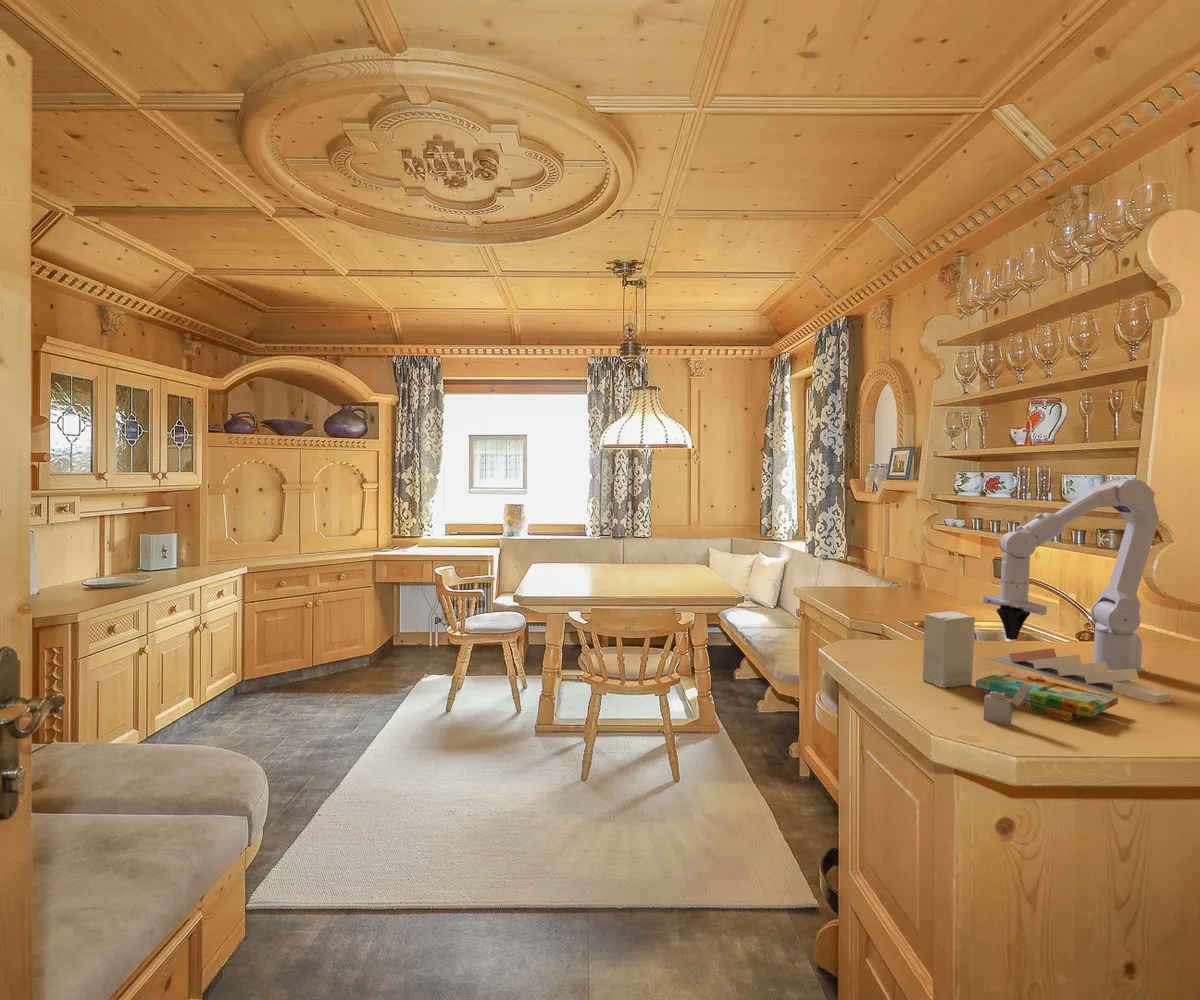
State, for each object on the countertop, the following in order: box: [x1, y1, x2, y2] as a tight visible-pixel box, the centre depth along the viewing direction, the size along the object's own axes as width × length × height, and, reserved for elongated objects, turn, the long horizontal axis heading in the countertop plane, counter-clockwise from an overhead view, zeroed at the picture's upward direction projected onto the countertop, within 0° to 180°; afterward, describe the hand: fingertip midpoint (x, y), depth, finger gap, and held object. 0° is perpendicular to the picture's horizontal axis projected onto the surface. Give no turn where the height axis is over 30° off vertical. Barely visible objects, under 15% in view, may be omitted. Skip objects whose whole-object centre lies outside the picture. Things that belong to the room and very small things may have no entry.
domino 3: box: [1057, 662, 1109, 676], centre depth 149 cm, size 4×2×8 cm
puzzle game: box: [975, 670, 1119, 721], centre depth 132 cm, size 12×5×20 cm
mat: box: [989, 655, 1116, 695], centre depth 154 cm, size 9×27×1 cm, turn 23°
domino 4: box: [1084, 668, 1140, 684], centre depth 143 cm, size 4×2×8 cm
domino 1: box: [1008, 647, 1057, 662], centre depth 159 cm, size 4×2×8 cm
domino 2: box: [1032, 654, 1083, 669], centre depth 154 cm, size 4×2×8 cm
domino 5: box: [1112, 680, 1172, 705], centre depth 138 cm, size 4×2×8 cm
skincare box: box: [921, 610, 976, 689], centre depth 145 cm, size 8×6×15 cm
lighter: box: [982, 682, 1032, 727], centre depth 122 cm, size 7×2×8 cm, turn 46°
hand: (1011, 638), depth 164 cm, fingers closed
